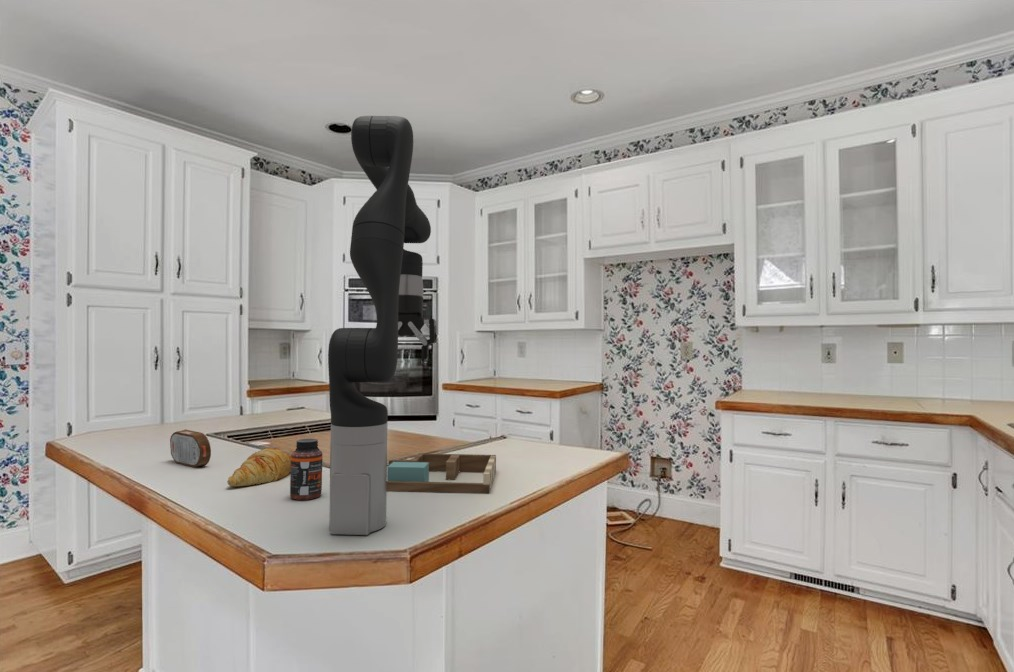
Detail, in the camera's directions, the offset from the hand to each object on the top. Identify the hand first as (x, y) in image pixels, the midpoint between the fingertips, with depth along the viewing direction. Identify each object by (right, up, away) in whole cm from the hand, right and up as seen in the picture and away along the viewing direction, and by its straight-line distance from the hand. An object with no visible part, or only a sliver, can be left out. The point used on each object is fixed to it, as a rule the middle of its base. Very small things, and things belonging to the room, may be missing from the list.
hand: (406, 361), depth 130 cm
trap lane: (+10, -26, -10) cm, 30 cm away
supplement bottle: (-16, -26, -24) cm, 39 cm away
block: (+3, -27, -14) cm, 30 cm away
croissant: (-31, -27, -9) cm, 42 cm away
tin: (-55, -26, +3) cm, 61 cm away
